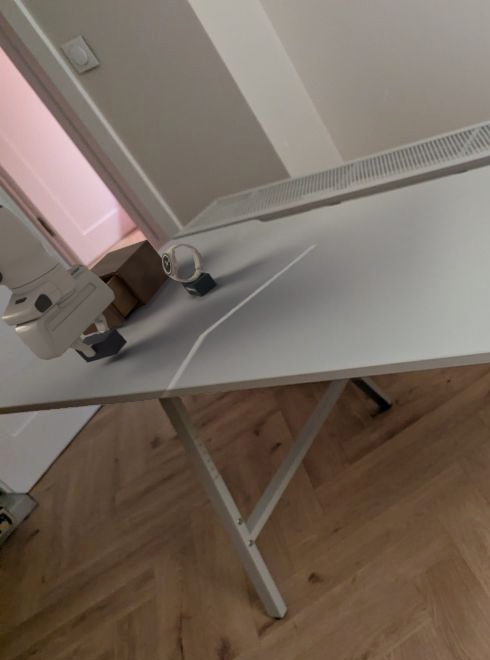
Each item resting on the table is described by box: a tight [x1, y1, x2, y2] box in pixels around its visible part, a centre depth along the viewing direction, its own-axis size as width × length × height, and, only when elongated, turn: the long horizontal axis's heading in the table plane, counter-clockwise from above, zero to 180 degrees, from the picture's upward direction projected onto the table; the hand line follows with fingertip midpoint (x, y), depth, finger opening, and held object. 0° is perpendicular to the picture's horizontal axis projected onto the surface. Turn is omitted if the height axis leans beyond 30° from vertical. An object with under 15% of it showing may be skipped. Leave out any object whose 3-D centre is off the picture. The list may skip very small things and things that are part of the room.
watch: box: [161, 243, 218, 297], centre depth 116 cm, size 6×8×11 cm
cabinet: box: [89, 239, 170, 310], centre depth 128 cm, size 15×12×10 cm
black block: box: [74, 328, 128, 363], centre depth 105 cm, size 7×4×4 cm, turn 90°
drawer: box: [82, 274, 139, 336], centre depth 119 cm, size 18×10×8 cm, turn 0°
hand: (101, 345), depth 105 cm, fingers closed on black block, 4 cm apart
